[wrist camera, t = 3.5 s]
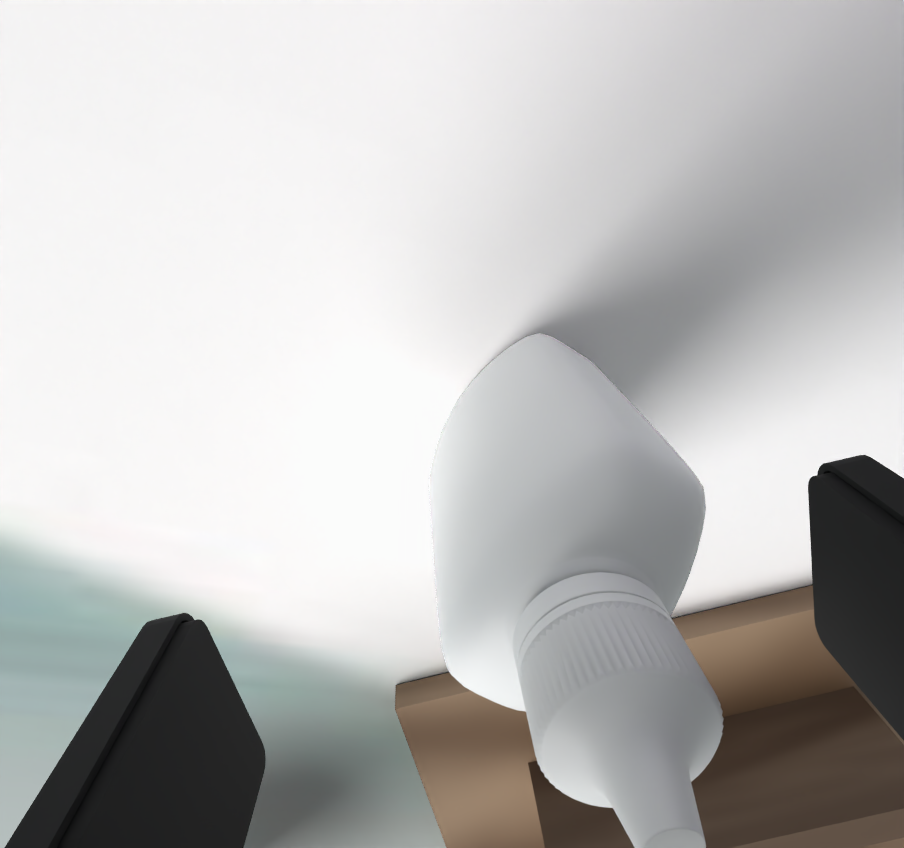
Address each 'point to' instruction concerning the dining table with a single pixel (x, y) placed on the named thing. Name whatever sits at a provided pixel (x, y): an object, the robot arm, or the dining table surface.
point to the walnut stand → (723, 780)
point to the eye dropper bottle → (575, 583)
